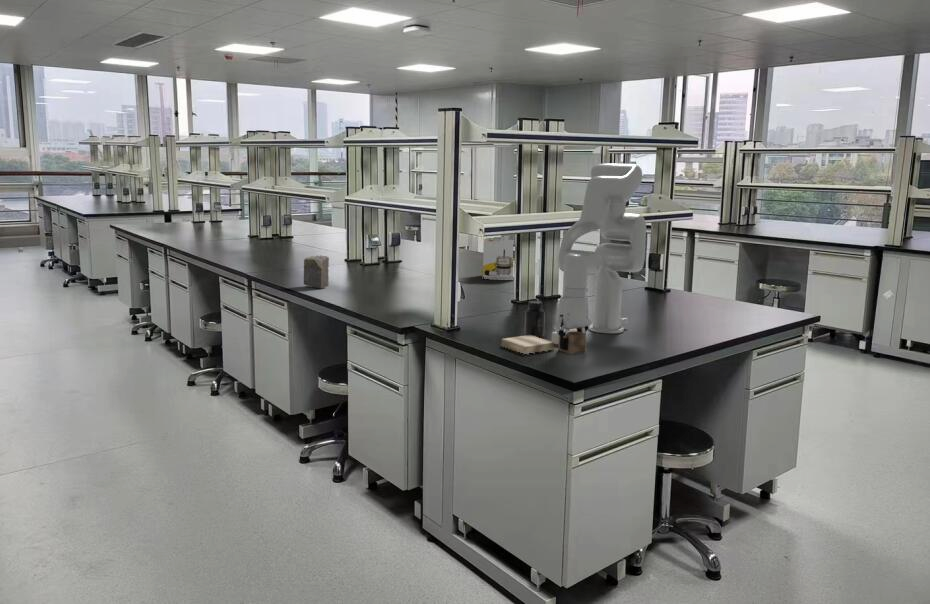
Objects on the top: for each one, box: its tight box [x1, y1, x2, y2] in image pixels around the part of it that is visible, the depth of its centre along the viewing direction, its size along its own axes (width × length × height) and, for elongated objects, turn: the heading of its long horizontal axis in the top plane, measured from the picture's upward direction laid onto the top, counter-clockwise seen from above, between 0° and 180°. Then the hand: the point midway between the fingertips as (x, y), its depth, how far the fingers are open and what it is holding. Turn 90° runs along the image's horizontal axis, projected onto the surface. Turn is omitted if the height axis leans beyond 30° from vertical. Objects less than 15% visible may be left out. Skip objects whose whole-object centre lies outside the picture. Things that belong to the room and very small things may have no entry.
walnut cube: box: [557, 329, 587, 355], centre depth 225 cm, size 6×6×6 cm
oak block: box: [501, 334, 555, 355], centre depth 228 cm, size 12×12×3 cm
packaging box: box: [482, 236, 514, 278], centre depth 371 cm, size 16×16×25 cm
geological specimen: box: [303, 255, 330, 289], centre depth 330 cm, size 11×6×15 cm, turn 61°
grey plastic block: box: [550, 329, 571, 345], centre depth 235 cm, size 8×8×4 cm
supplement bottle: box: [524, 300, 546, 338], centre depth 244 cm, size 7×7×12 cm
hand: (571, 347), depth 225 cm, fingers closed on walnut cube, 6 cm apart
